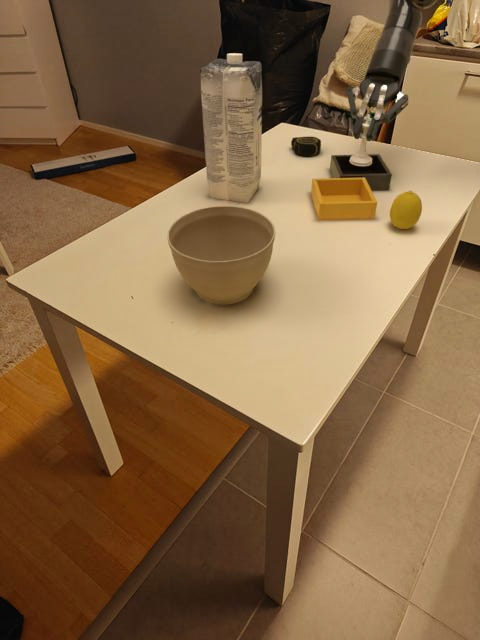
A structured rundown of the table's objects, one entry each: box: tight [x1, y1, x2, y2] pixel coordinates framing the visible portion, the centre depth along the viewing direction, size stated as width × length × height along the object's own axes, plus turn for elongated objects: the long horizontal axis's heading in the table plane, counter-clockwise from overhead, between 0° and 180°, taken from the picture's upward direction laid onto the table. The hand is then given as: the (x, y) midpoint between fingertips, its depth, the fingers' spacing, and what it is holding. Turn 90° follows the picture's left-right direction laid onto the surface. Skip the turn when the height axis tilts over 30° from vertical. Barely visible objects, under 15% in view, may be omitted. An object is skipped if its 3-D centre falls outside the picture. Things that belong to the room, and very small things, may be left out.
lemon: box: [389, 190, 423, 230], centre depth 86 cm, size 6×6×8 cm
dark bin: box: [329, 153, 393, 192], centre depth 103 cm, size 11×11×4 cm
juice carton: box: [199, 52, 263, 204], centre depth 92 cm, size 9×10×27 cm
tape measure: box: [290, 136, 322, 157], centre depth 115 cm, size 7×7×4 cm
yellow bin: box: [310, 177, 378, 221], centre depth 94 cm, size 11×11×4 cm
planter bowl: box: [166, 205, 276, 305], centre depth 72 cm, size 16×16×11 cm
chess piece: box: [349, 113, 373, 166], centre depth 98 cm, size 5×5×10 cm
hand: (362, 138), depth 96 cm, fingers closed on chess piece
